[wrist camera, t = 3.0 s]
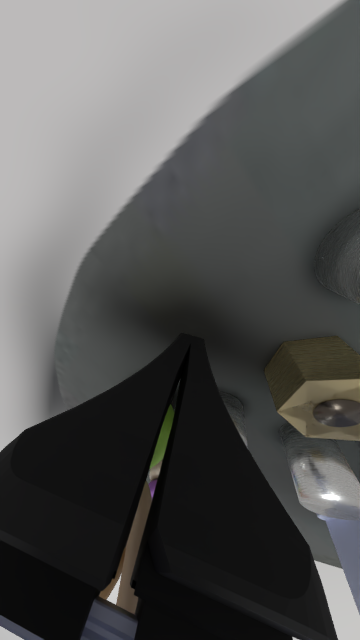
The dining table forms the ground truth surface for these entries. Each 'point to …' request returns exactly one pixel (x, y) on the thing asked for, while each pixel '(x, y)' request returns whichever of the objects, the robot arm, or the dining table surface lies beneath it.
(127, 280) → the dining table surface
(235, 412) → the cylinder
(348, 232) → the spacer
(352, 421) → the brass nut
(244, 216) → the dining table surface
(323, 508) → the cylinder
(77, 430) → the robot arm
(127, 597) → the snail figurine
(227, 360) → the dining table surface
